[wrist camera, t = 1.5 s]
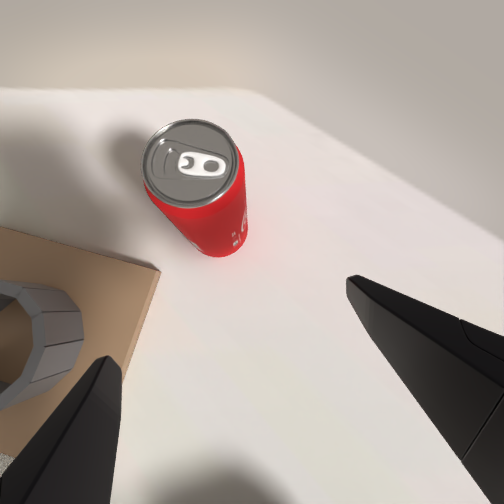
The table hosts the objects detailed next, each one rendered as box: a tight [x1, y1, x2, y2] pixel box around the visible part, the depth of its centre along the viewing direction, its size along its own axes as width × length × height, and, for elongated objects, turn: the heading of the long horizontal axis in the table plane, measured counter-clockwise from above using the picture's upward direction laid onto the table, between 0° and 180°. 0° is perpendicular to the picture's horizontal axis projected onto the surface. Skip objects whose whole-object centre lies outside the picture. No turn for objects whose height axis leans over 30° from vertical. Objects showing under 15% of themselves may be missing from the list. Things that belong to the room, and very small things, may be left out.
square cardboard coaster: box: [0, 227, 161, 458], centre depth 20 cm, size 16×16×5 cm
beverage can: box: [141, 119, 248, 257], centre depth 18 cm, size 5×5×12 cm
